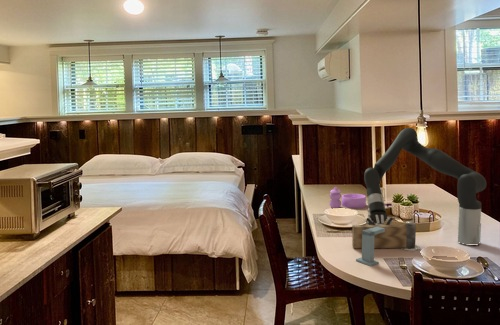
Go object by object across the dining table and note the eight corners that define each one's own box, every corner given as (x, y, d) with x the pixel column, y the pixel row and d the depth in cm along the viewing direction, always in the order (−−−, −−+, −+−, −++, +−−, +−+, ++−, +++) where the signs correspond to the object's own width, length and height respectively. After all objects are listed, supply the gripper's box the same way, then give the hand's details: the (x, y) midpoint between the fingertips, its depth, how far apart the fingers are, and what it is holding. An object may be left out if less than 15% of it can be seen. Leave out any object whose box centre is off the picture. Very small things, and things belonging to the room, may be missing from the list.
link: (413, 244, 208) (413, 223, 206) (416, 248, 203) (417, 226, 201) (351, 245, 209) (352, 224, 207) (354, 248, 204) (354, 227, 202)
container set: (357, 202, 300) (357, 183, 299) (370, 207, 286) (370, 186, 284) (324, 205, 293) (324, 186, 291) (336, 210, 278) (336, 190, 276)
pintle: (417, 244, 209) (418, 219, 207) (421, 250, 200) (422, 224, 199) (397, 244, 210) (398, 219, 209) (401, 250, 202) (401, 224, 200)
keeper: (373, 255, 196) (373, 225, 195) (388, 259, 190) (388, 229, 188) (355, 260, 190) (356, 230, 188) (370, 266, 183) (371, 234, 182)
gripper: (388, 208, 220) (394, 240, 210) (361, 208, 221) (366, 240, 211) (391, 200, 214) (398, 232, 204) (363, 201, 215) (369, 233, 205)
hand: (382, 236), depth 207 cm, fingers closed
